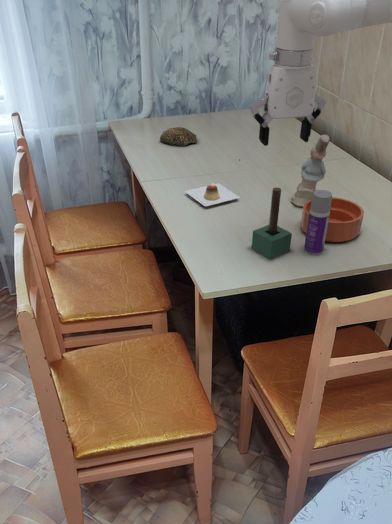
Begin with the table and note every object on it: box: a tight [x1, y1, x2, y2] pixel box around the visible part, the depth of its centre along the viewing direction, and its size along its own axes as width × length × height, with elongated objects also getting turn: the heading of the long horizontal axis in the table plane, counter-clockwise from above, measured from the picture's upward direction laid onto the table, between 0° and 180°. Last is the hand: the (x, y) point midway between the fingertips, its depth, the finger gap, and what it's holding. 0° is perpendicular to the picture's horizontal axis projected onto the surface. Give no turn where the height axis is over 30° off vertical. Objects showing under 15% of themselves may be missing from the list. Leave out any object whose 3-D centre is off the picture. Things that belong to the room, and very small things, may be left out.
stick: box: [268, 187, 282, 236], centre depth 131 cm, size 2×2×16 cm
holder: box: [251, 224, 293, 260], centre depth 135 cm, size 7×7×5 cm
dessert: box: [183, 181, 241, 208], centre depth 158 cm, size 12×12×5 cm
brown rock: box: [159, 126, 198, 147], centre depth 196 cm, size 13×12×5 cm
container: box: [303, 189, 333, 256], centre depth 131 cm, size 5×5×15 cm
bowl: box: [300, 196, 365, 243], centre depth 143 cm, size 15×15×6 cm
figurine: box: [291, 134, 331, 208], centre depth 152 cm, size 9×8×20 cm
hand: (284, 141), depth 122 cm, fingers open, 9 cm apart
